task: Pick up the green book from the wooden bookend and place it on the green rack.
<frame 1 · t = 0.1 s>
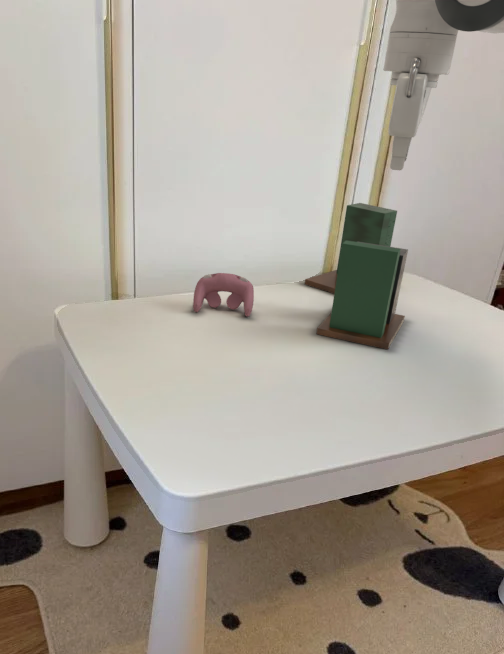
hand: (398, 165, 93), 24 cm above the table, tool pointing down, fingers open, 8 cm apart
green rack: (336, 289, 118), on the table
green book: (356, 330, 97), point 1 cm above the table, touching wooden bookend
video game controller: (222, 311, 105), on the table
wooden bookend: (355, 336, 97), on the table
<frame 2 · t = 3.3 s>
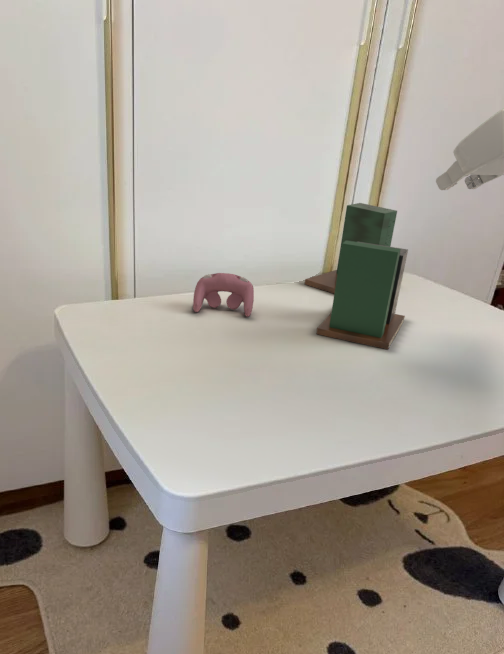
hand: (454, 185, 85), 23 cm above the table, tool tilted 50°, fingers open, 8 cm apart
nothing on the table moved.
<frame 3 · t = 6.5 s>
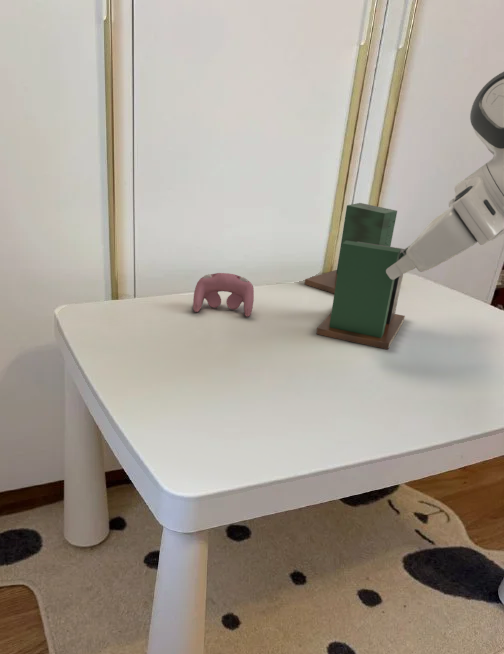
hand: (396, 266, 91), 12 cm above the table, tool tilted 45°, fingers open, 8 cm apart
nothing on the table moved.
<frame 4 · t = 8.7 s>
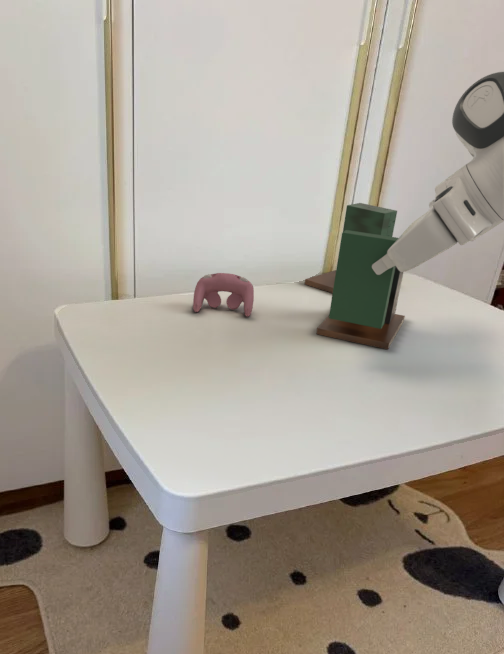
hand: (377, 267, 91), 11 cm above the table, tool tilted 45°, fingers closed on green book, 2 cm apart
green book: (356, 321, 96), point 3 cm above the table, touching gripper
everything else where it was.
when the fingers open (10 cm above the table, at t = 18.8 s): green book stays where it is, resting on green rack.
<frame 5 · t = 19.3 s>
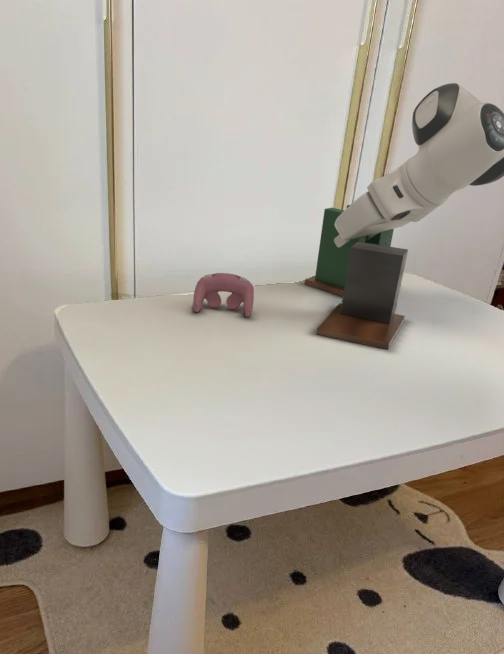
hand: (350, 240, 112), 9 cm above the table, tool tilted 45°, fingers open, 6 cm apart
green book: (335, 283, 117), point 1 cm above the table, touching green rack
everything else where it was.
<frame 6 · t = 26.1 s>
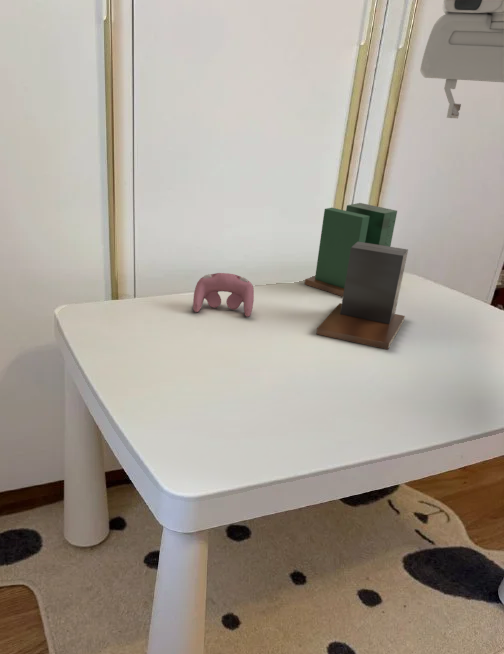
hand: (489, 120, 85), 31 cm above the table, tool pointing down, fingers open, 8 cm apart
nothing on the table moved.
at the end: green book 0.3 cm off-centre on the green rack, point 1.0 cm above the green rack's base; green book tilted 0° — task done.
